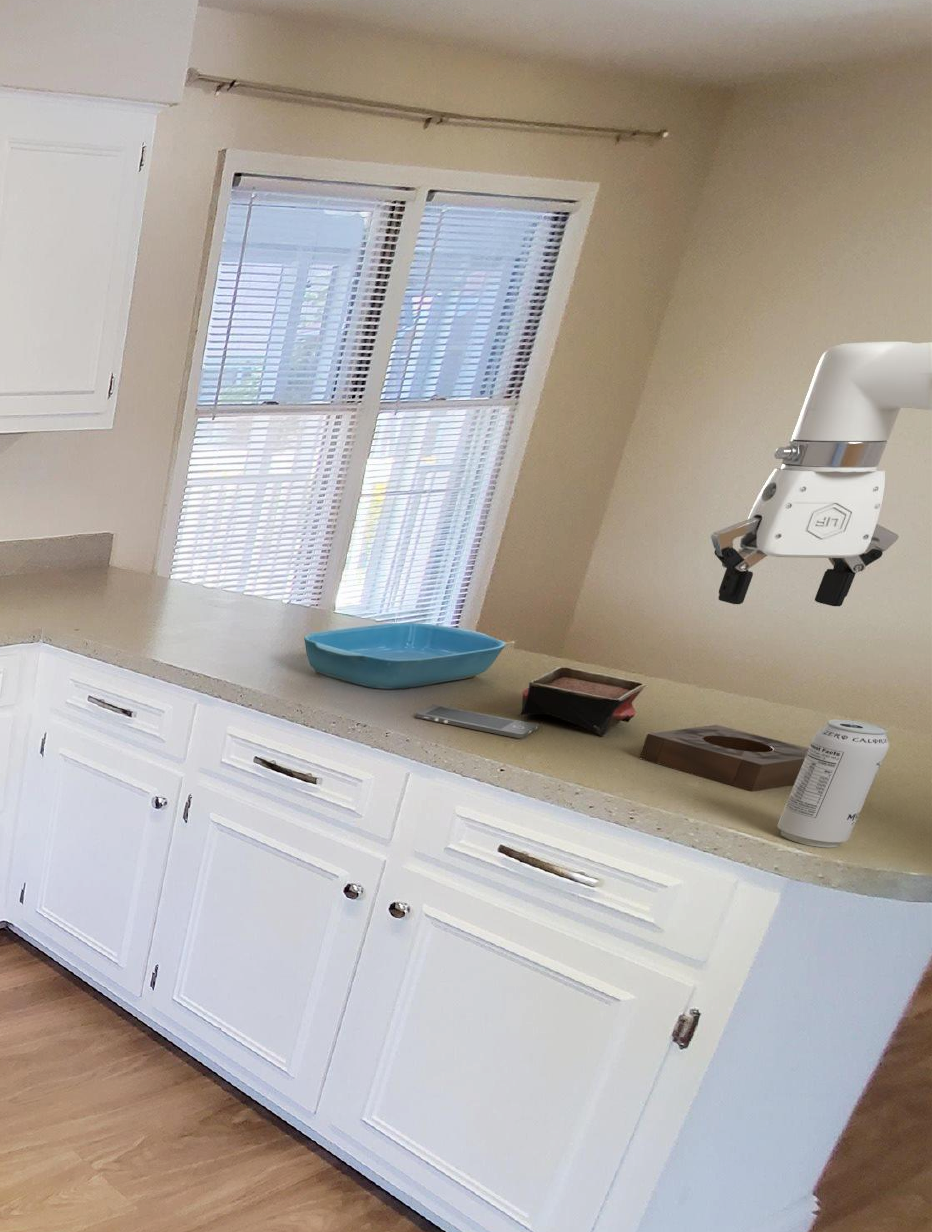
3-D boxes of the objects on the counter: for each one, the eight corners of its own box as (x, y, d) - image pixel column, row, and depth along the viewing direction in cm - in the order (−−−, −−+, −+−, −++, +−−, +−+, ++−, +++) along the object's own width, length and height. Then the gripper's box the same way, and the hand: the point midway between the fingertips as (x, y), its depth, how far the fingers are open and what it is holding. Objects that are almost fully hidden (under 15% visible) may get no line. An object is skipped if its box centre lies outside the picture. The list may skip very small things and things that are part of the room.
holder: (822, 780, 145) (833, 754, 144) (751, 791, 142) (762, 764, 140) (706, 749, 158) (715, 724, 156) (638, 758, 155) (647, 733, 153)
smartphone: (412, 716, 175) (413, 712, 174) (431, 707, 179) (432, 703, 179) (520, 738, 163) (522, 734, 163) (537, 728, 168) (539, 724, 167)
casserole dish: (377, 699, 185) (386, 660, 182) (273, 669, 205) (280, 634, 202) (522, 678, 195) (532, 641, 192) (409, 651, 215) (417, 618, 212)
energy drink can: (853, 853, 124) (905, 736, 118) (784, 843, 126) (832, 729, 121) (832, 835, 128) (882, 722, 123) (766, 826, 131) (812, 715, 126)
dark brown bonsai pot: (644, 736, 169) (661, 676, 167) (605, 740, 160) (623, 677, 158) (537, 720, 181) (552, 664, 179) (495, 723, 172) (510, 664, 170)
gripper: (764, 459, 117) (713, 607, 123) (956, 458, 113) (893, 611, 119) (718, 455, 124) (672, 595, 130) (897, 454, 119) (841, 599, 125)
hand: (778, 603), depth 124 cm, fingers open, 9 cm apart
